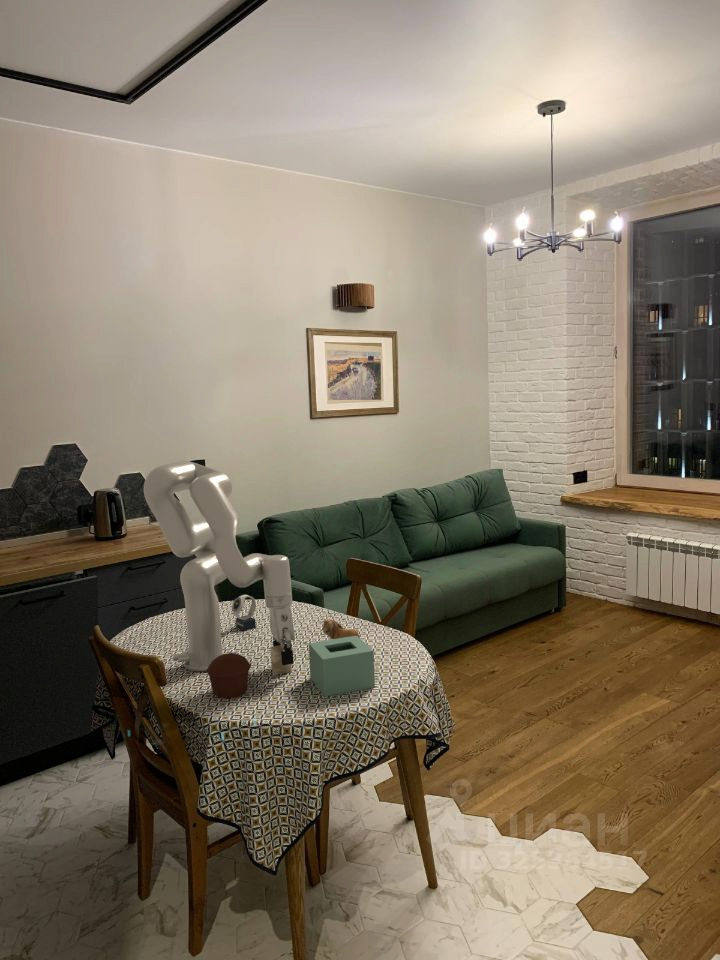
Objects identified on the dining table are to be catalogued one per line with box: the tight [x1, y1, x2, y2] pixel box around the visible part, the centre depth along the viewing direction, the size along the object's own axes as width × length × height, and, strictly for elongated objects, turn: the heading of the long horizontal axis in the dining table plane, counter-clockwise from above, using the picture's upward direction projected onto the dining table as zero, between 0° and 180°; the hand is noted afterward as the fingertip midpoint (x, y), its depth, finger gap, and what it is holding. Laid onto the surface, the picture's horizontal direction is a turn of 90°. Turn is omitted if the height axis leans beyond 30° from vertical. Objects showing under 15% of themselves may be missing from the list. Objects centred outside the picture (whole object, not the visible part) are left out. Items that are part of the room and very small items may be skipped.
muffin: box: [205, 652, 252, 700], centre depth 191 cm, size 12×11×10 cm
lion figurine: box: [321, 618, 361, 640], centre depth 219 cm, size 15×5×9 cm, turn 67°
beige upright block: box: [269, 645, 293, 675], centre depth 204 cm, size 5×4×7 cm
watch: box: [231, 594, 257, 632], centre depth 243 cm, size 6×8×11 cm
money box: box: [308, 636, 376, 697], centre depth 195 cm, size 14×13×10 cm
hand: (283, 658), depth 204 cm, fingers open, 9 cm apart
